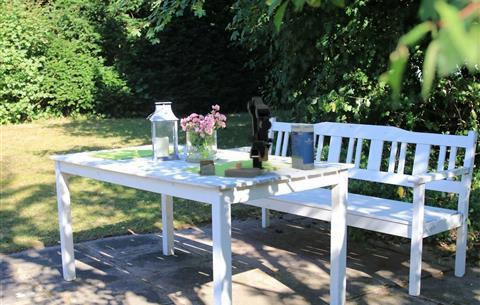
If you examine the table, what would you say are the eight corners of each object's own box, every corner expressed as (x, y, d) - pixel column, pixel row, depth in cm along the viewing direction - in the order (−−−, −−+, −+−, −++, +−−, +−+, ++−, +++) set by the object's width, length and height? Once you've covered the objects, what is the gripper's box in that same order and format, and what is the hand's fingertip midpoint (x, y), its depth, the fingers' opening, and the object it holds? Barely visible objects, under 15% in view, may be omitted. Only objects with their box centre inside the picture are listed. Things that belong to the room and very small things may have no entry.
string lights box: (314, 169, 329) (314, 124, 325) (304, 170, 325) (303, 124, 322) (301, 166, 340) (300, 123, 337) (290, 167, 336) (290, 123, 333)
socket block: (233, 173, 319) (233, 166, 318) (260, 174, 313) (260, 167, 312) (224, 176, 308) (224, 169, 307) (252, 178, 302) (252, 171, 301)
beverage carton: (200, 176, 313) (200, 164, 312) (200, 171, 332) (199, 159, 331) (215, 175, 313) (214, 163, 313) (213, 170, 332) (213, 159, 332)
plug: (261, 160, 317) (261, 147, 316) (268, 160, 315) (268, 148, 314) (258, 161, 313) (258, 148, 312) (265, 161, 311) (265, 148, 311)
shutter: (232, 168, 315) (232, 161, 315) (242, 168, 313) (242, 161, 313) (227, 169, 310) (227, 163, 309) (238, 170, 307) (238, 163, 307)
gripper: (255, 127, 324) (255, 155, 325) (243, 130, 306) (243, 159, 308) (273, 127, 319) (274, 155, 321) (262, 130, 302) (263, 159, 304)
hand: (263, 157), depth 314 cm, fingers closed on plug, 4 cm apart
